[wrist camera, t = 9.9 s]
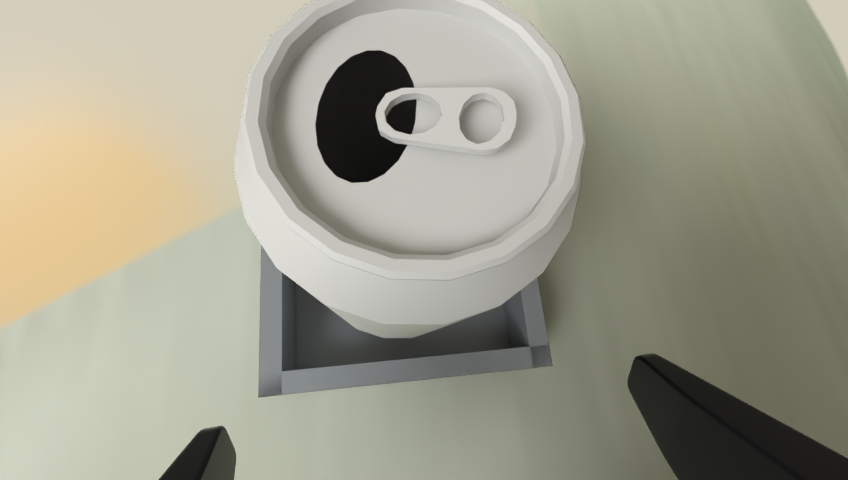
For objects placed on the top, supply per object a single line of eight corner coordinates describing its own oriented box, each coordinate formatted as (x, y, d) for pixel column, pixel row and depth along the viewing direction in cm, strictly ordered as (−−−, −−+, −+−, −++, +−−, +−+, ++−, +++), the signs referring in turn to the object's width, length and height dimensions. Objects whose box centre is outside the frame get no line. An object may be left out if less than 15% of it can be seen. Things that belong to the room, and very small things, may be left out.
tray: (525, 363, 18) (552, 365, 15) (280, 389, 17) (258, 397, 14) (492, 150, 21) (509, 118, 18) (281, 157, 20) (263, 124, 17)
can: (335, 171, 19) (264, -96, 8) (484, 198, 20) (627, -17, 8) (298, 325, 17) (122, 273, 6) (466, 352, 17) (626, 356, 6)
